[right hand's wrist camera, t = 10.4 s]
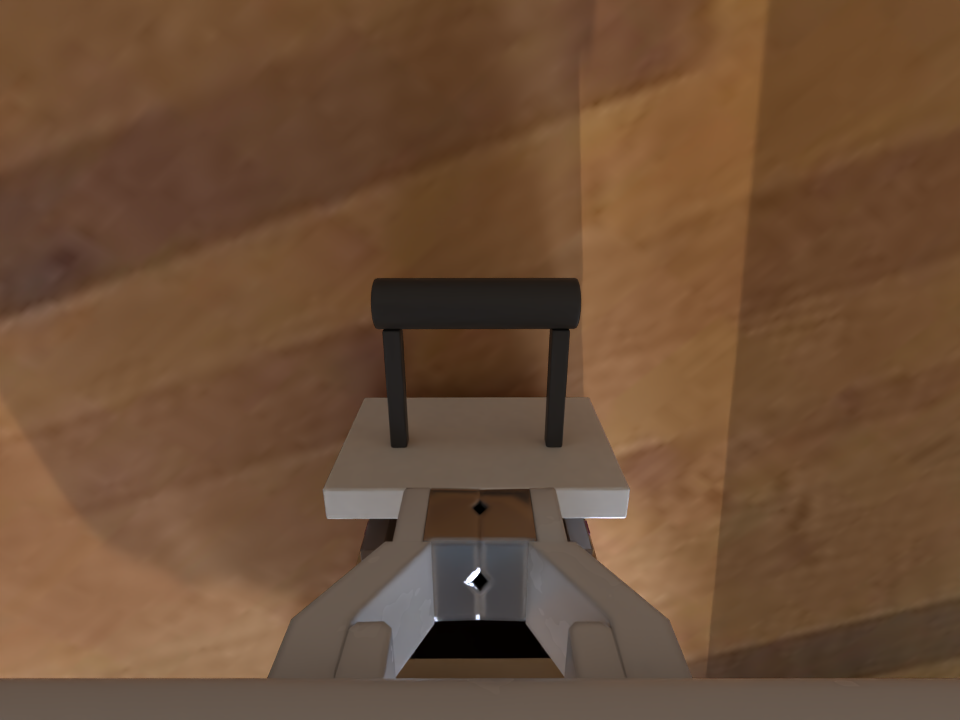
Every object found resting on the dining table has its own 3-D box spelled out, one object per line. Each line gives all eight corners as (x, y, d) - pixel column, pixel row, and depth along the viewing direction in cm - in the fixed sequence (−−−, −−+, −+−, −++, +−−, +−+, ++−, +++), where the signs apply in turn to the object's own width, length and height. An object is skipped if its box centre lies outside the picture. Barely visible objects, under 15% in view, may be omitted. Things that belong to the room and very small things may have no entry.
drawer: (351, 255, 21) (296, 301, 14) (601, 255, 21) (654, 301, 14) (387, 657, 29) (363, 798, 23) (567, 657, 29) (592, 797, 23)
